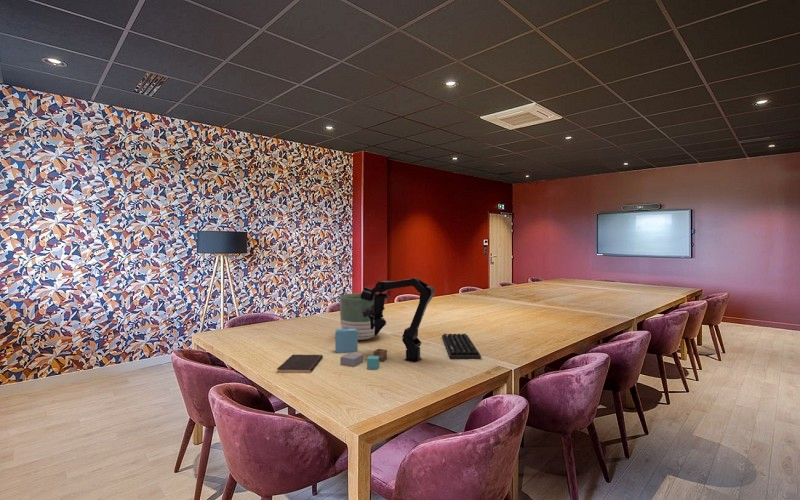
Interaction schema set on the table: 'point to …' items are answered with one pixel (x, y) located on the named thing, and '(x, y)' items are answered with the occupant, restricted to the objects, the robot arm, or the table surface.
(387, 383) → the table surface
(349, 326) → the planter
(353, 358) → the slate base block
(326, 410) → the table surface
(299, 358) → the hardcover book
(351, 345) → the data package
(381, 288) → the robot arm
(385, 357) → the walnut cube
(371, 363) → the teal cube
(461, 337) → the computer keyboard
